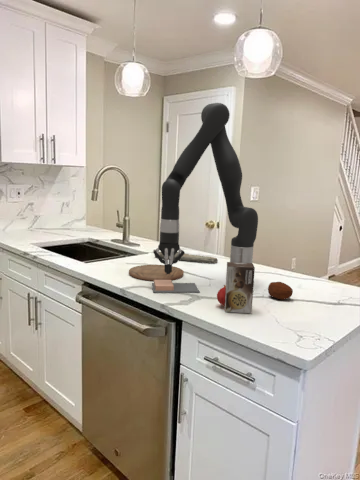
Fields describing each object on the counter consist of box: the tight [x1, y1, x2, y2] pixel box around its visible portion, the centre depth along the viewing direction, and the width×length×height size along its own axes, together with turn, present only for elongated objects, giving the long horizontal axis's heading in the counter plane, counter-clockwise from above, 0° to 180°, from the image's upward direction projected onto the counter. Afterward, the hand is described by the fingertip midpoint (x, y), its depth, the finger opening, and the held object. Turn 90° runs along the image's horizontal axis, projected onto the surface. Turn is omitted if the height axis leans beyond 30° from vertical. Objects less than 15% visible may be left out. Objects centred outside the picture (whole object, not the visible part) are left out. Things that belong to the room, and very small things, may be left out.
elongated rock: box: [153, 251, 219, 264], centre depth 207 cm, size 35×5×10 cm
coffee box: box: [224, 261, 256, 314], centre depth 131 cm, size 9×6×16 cm
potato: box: [267, 281, 294, 301], centre depth 147 cm, size 7×9×6 cm
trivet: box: [128, 264, 184, 283], centre depth 175 cm, size 25×25×2 cm
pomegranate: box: [216, 284, 226, 308], centre depth 134 cm, size 6×6×8 cm
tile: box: [153, 280, 174, 291], centre depth 153 cm, size 9×2×7 cm
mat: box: [151, 282, 201, 294], centre depth 154 cm, size 18×12×1 cm, turn 98°
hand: (168, 273), depth 153 cm, fingers closed
